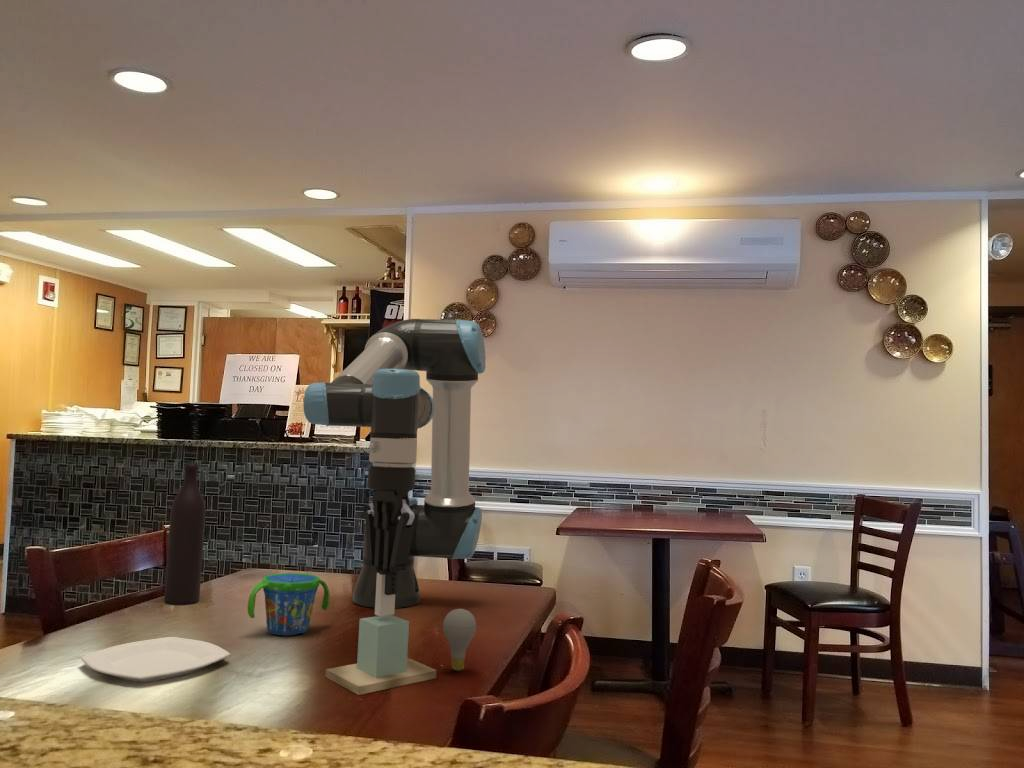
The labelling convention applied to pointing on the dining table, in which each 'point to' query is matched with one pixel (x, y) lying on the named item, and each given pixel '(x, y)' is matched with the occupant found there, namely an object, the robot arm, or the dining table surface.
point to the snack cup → (288, 601)
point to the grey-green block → (382, 645)
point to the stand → (367, 683)
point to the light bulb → (459, 634)
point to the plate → (155, 658)
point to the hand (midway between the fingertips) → (384, 614)
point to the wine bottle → (185, 542)
